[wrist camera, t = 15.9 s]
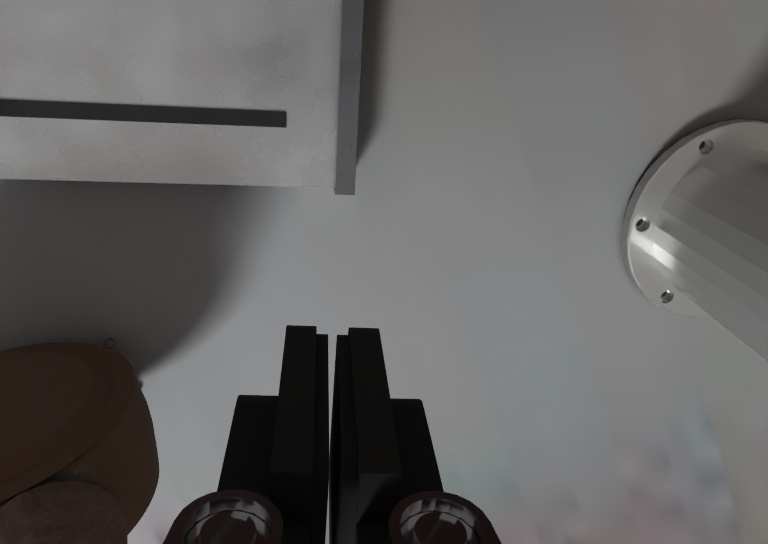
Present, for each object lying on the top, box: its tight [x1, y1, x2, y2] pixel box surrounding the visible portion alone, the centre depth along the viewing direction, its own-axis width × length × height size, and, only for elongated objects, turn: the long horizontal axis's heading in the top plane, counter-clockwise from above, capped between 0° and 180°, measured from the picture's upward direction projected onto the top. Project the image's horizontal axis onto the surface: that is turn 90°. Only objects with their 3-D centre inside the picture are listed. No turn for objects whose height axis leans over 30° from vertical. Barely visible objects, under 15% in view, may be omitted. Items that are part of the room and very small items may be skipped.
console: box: [0, 0, 364, 195], centre depth 31 cm, size 26×14×3 cm, turn 86°
